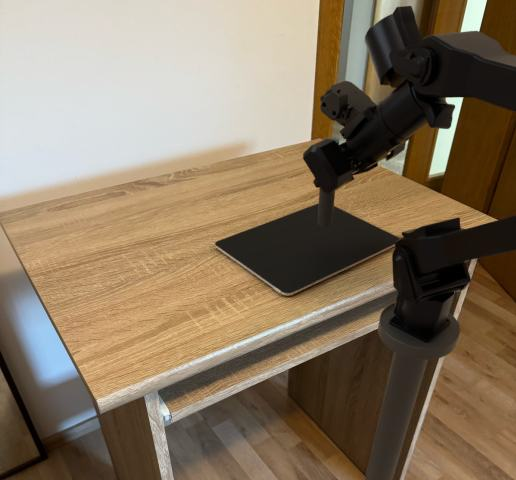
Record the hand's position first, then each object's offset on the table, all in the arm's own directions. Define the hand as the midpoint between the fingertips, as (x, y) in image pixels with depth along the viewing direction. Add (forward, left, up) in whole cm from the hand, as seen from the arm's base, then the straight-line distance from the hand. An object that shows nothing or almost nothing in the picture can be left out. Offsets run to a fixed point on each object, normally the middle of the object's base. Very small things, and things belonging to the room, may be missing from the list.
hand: (320, 181), depth 75 cm
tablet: (+3, -1, -13) cm, 13 cm away
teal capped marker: (-1, 0, -7) cm, 7 cm away
